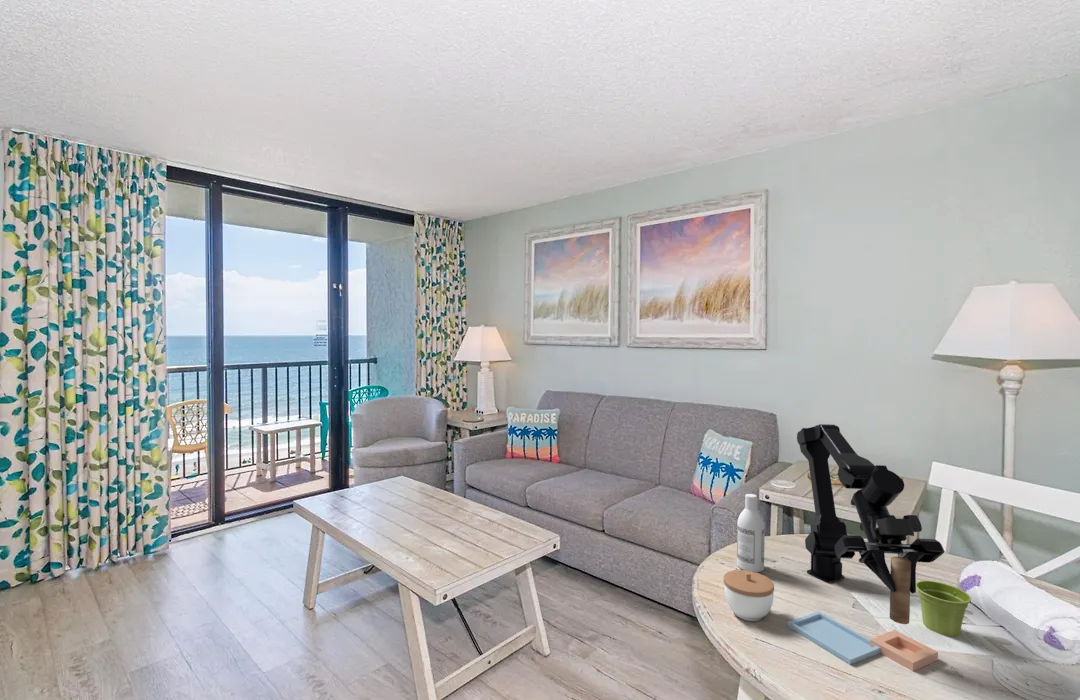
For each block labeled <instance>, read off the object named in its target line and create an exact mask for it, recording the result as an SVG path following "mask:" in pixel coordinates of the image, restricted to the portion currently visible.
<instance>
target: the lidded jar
mask: <svg viewBox="0 0 1080 700" xmlns="http://www.w3.org/2000/svg"><path fill="white" fill-rule="evenodd" d="M723 591H724V597H725V600H726V603H727V605H728V607H729V608H730V610H732V612H733V613H734V614H735V616H736V617H737V618H740V619H742V620H744V621H749V622H758V621H759V622H760V621H761V620H762V619H763V618H764V617H765V616H767V614H769V612H770V611H771V609H772V606H773V603H774V593H775V592H774V591H775V584H774V582H773V580H771V579H770V578H769V577H767V576H766V575H764V574H761V573H760V572H752V571H747V570H742V569H736V570H735V569H734V570H730V571H727V572H726V573H725V574H724V575H723Z"/></svg>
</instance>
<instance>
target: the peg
mask: <svg viewBox="0 0 1080 700" xmlns="http://www.w3.org/2000/svg"><path fill="white" fill-rule="evenodd" d="M890 574H891V577H892V579H893V581H894V584H895V588H896V592H894V593H893V592H891V591H890V590H889V619H890V620H892V621H893V622H894V623H898V624H901V625H908V624H910V620H911V619H910V618H911V617H910V614H911V609H910V608H911V592H910V578H911V561H910V560H908V559H906V558H903V557H898V555H897V556H891V557H890Z"/></svg>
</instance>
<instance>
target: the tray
mask: <svg viewBox="0 0 1080 700" xmlns="http://www.w3.org/2000/svg"><path fill="white" fill-rule="evenodd" d="M786 623H787V624H786V626H787V628H789V629H790V630H792V631H793V632H795V633H797V634H799V635H800V636H802V637H804V638H805V639H807V640H808V641H810V642H812V643H813V644H814V645H817V646H818V647H820V648H821V649H823V650H825V651H826V652H828V653H830V654H831V655H833V656H834V657H836V658H838V659H840V660H841V661H843V662H845V664H847V665H849V666H851V665H855V664H857V663H860V662H862V661H865V660H867V659H868V658H872V657H873V656H876V655H879V654H881V653H880V648H879V647H878V646H874V647H871V646H870V639H871V638H868V637H867V636H865V635H863V634H861V633H860V632H857V631H855V630H854V629H852V628H850V627H849V626H846V625H845V624H842V623H841V622H839V621H837V620H835V619H833V618H832V617H829V616H828V615H826V614H825V613H823V612H821V611H816V612H813V613H810V614H808V615H804V616H801V617H798V618H795V619H792V620H789V621H787V622H786Z"/></svg>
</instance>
